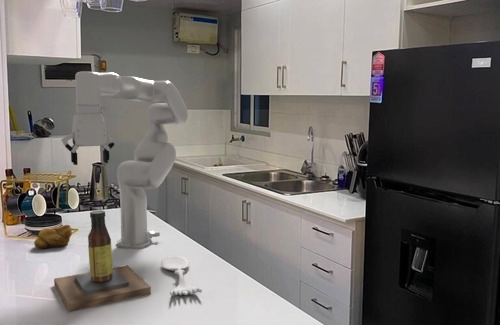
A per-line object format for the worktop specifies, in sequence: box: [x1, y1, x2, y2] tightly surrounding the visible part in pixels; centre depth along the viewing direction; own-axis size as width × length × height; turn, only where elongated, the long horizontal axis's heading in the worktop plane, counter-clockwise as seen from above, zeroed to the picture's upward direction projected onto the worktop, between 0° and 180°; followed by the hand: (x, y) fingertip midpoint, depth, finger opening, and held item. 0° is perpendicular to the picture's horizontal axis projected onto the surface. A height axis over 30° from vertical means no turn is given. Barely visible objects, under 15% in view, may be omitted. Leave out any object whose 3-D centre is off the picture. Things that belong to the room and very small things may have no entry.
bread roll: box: [33, 224, 73, 249], centre depth 173 cm, size 13×10×8 cm
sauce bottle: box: [87, 210, 114, 282], centre depth 133 cm, size 7×6×20 cm
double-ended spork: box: [161, 255, 203, 297], centre depth 143 cm, size 9×32×4 cm, turn 16°
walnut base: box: [53, 264, 152, 313], centre depth 135 cm, size 22×20×3 cm
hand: (90, 163), depth 153 cm, fingers open, 9 cm apart
